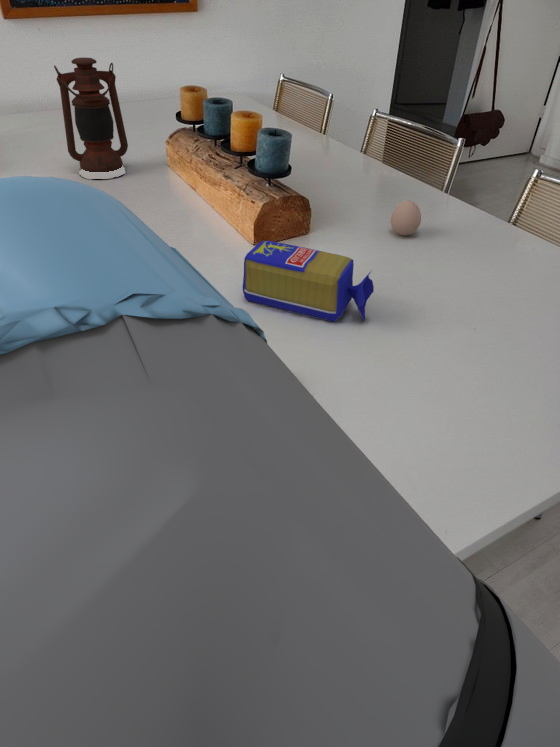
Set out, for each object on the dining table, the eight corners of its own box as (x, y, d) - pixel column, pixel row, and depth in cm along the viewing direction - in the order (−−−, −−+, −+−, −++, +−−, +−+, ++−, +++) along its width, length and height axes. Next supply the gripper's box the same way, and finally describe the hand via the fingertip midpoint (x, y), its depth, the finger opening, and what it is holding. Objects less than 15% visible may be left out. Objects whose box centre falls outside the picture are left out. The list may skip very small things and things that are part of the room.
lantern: (125, 162, 172) (109, 53, 154) (137, 176, 162) (122, 61, 144) (68, 169, 165) (45, 56, 147) (77, 183, 156) (53, 64, 137)
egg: (420, 241, 131) (427, 207, 126) (390, 240, 131) (396, 206, 126) (415, 229, 137) (421, 196, 131) (386, 228, 137) (391, 195, 131)
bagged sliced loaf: (259, 280, 113) (259, 233, 107) (375, 307, 106) (382, 258, 99) (237, 302, 106) (236, 253, 99) (360, 333, 98) (367, 282, 92)
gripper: (-1, 887, 17) (103, 646, 38) (668, 716, 22) (434, 584, 42) (-17, 641, 18) (94, 537, 39) (631, 525, 22) (419, 487, 43)
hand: (271, 562), depth 41 cm, fingers open, 13 cm apart
